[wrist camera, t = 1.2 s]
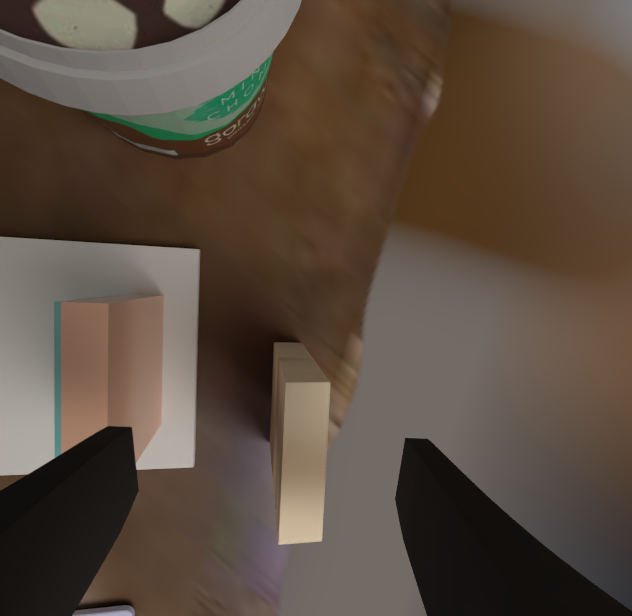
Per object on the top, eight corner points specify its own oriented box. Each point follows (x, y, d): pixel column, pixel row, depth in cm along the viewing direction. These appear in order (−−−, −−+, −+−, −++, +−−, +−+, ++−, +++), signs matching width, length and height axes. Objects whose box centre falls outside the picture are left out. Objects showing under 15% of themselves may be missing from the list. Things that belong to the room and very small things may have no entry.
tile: (161, 424, 19) (106, 507, 12) (129, 424, 18) (54, 510, 12) (163, 295, 18) (108, 303, 11) (131, 293, 18) (54, 301, 11)
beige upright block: (296, 441, 21) (321, 541, 13) (269, 442, 20) (278, 544, 13) (301, 342, 20) (330, 382, 12) (273, 342, 20) (285, 382, 12)
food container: (215, 230, 19) (172, 176, 9) (108, 164, 18) (-74, 22, 8) (330, 40, 19) (409, -210, 9) (232, -36, 18) (204, -415, 8)
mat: (194, 462, 20) (193, 467, 19) (-52, 472, 18) (-61, 477, 17) (200, 250, 19) (198, 249, 18) (-59, 233, 17) (-68, 232, 16)
